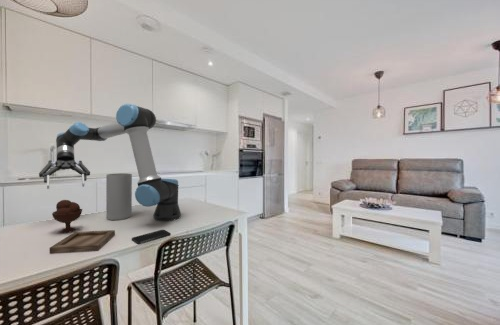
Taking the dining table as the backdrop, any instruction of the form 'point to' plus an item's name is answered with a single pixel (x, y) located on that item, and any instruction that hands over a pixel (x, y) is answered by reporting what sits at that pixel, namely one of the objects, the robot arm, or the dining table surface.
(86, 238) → the walnut tray
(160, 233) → the phone
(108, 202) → the cylinder vase
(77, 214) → the ice cream bowl
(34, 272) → the dining table surface
